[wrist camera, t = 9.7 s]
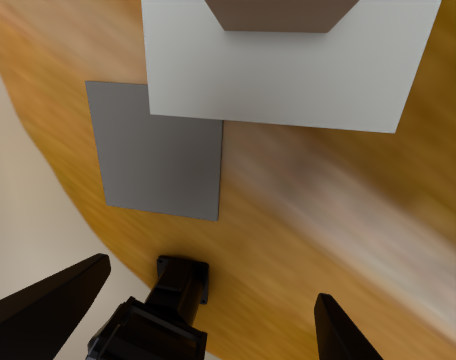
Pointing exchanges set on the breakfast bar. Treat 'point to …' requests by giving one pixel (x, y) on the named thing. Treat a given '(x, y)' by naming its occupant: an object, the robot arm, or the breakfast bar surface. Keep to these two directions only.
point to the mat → (154, 154)
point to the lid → (286, 60)
